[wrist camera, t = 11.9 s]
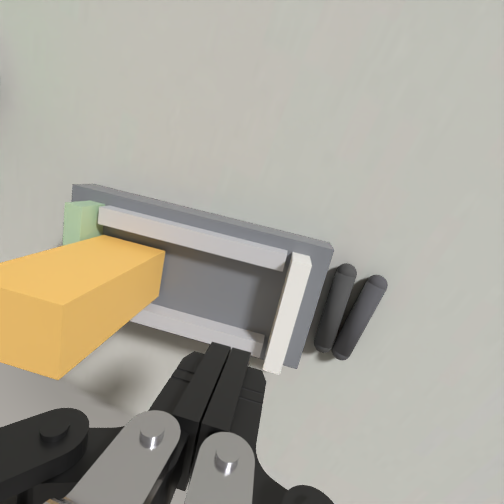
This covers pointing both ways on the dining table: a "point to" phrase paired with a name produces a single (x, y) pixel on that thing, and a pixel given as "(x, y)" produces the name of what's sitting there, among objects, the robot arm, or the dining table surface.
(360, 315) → the dark grey rounded rod
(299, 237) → the grey rectangular tray
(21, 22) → the dining table surface
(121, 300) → the orange rectangular block
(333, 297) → the dark grey peg
